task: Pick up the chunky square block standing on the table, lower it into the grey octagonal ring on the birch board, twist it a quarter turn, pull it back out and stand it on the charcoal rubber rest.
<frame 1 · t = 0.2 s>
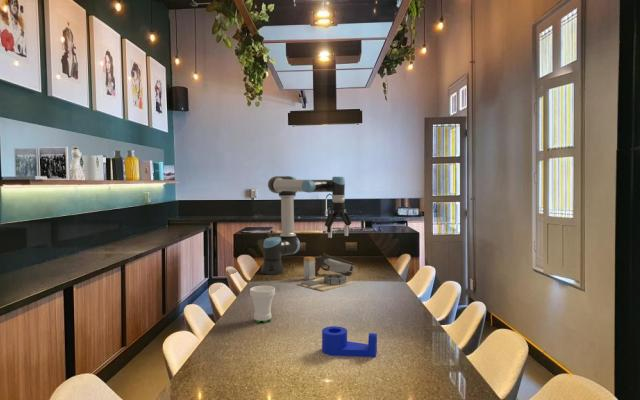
hand: (338, 236, 261), 27 cm above the table, fingers open, 13 cm apart
gun: (331, 275, 280), on the table
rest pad: (311, 283, 254), resting on board
block: (309, 279, 266), on the table
board: (325, 284, 255), on the table
grey octagonal ring: (334, 282, 256), resting on board
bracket: (349, 353, 154), on the table
cup: (262, 320, 189), on the table
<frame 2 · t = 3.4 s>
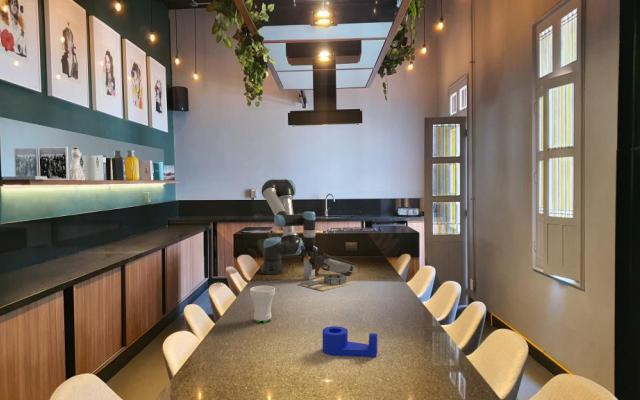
hand: (309, 273, 266), 4 cm above the table, fingers closed on block, 5 cm apart
block: (309, 279, 266), on the table, touching gripper
everything else where it was.
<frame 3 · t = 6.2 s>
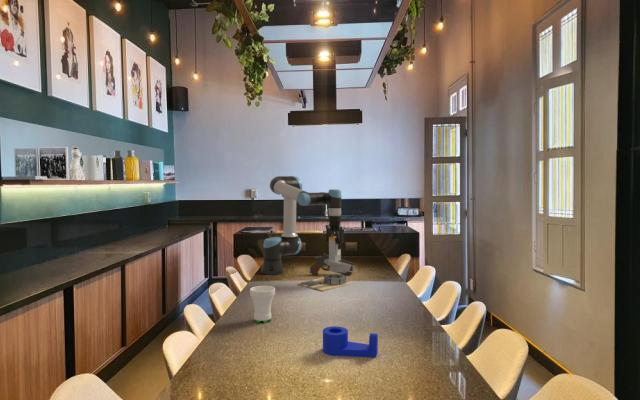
hand: (334, 254, 256), 18 cm above the table, fingers closed on block, 5 cm apart
block: (334, 260, 256), point 14 cm above the table, touching gripper
everything else where it was.
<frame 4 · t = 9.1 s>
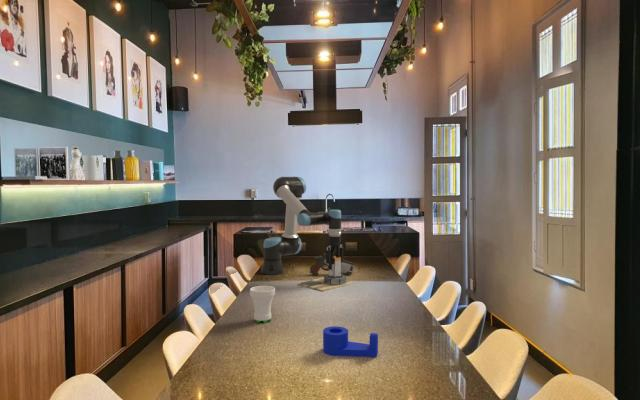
hand: (334, 274, 256), 6 cm above the table, fingers closed on block, 5 cm apart
block: (334, 280, 256), point 2 cm above the table, touching gripper
everything else where it was.
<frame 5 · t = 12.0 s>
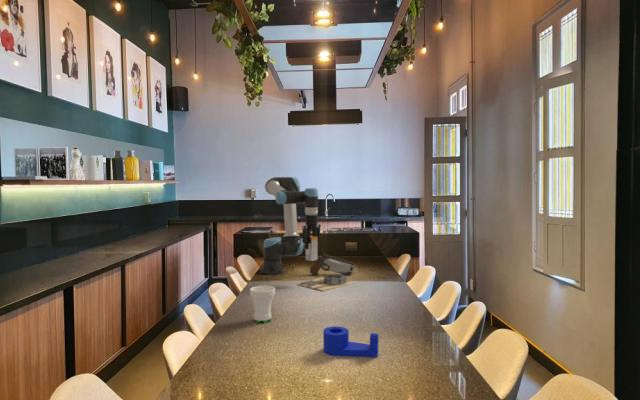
hand: (311, 253, 253), 19 cm above the table, fingers closed on block, 5 cm apart
block: (311, 259, 253), point 15 cm above the table, touching gripper
everything else where it was.
when the fingers open (6 cm above the table, at t = 14.6 s): block stays where it is, resting on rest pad.
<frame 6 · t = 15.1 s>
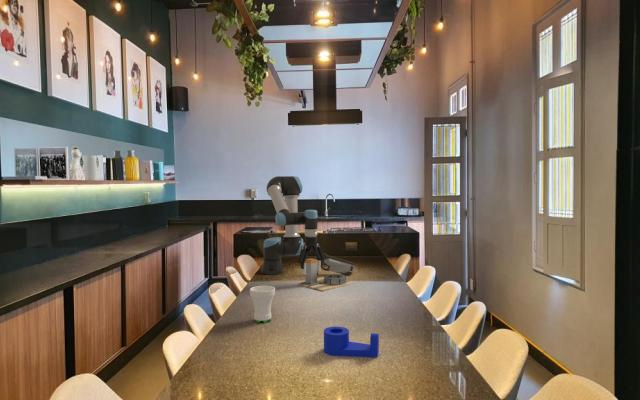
hand: (311, 272, 253), 7 cm above the table, fingers open, 11 cm apart
block: (311, 282, 254), point 1 cm above the table, touching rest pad
everything else where it was.
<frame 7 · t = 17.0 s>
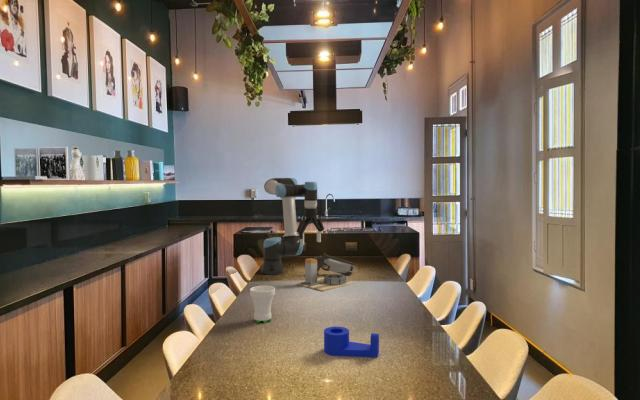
hand: (310, 243, 255), 24 cm above the table, fingers open, 13 cm apart
nothing on the table moved.
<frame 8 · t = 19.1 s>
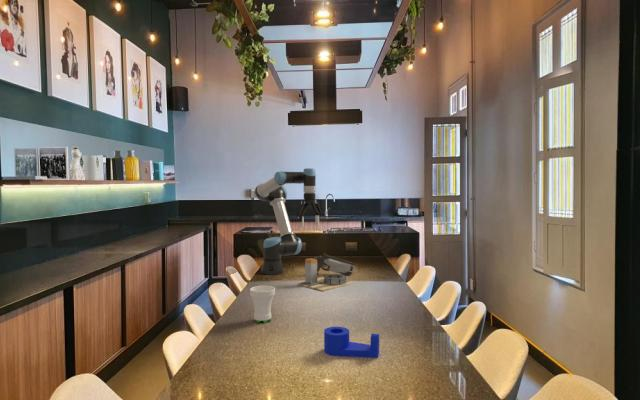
hand: (309, 226, 272), 33 cm above the table, fingers open, 13 cm apart
nothing on the table moved.
at the end: block inside the target area on the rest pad (0.0 cm from its centre), point 0.4 cm above the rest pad's base; block tilted 0°; the gripper is holding nothing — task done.
